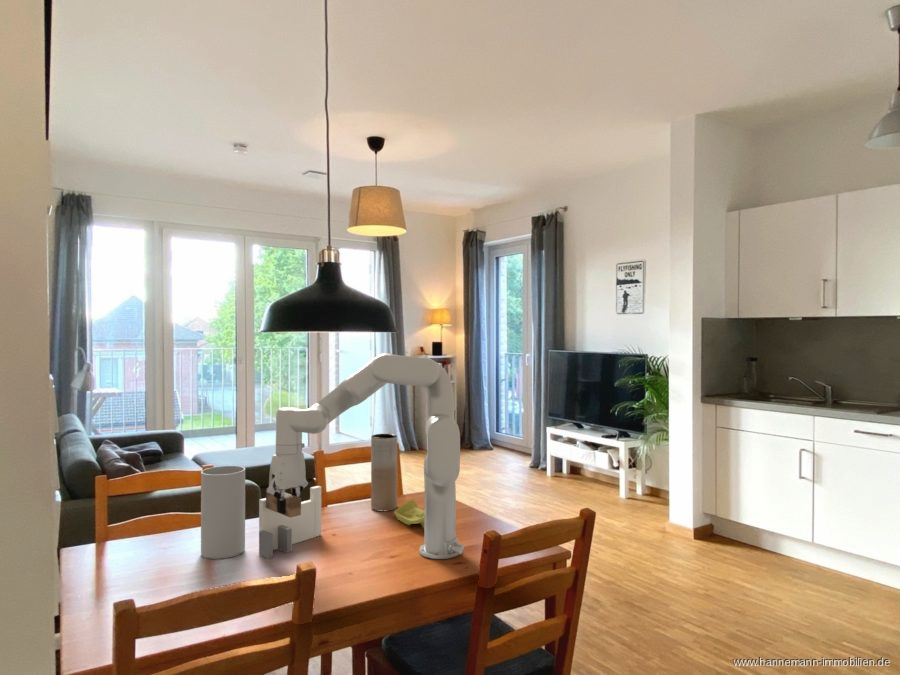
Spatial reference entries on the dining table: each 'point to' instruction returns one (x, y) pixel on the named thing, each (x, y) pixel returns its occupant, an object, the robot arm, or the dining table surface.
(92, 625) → the dining table surface
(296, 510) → the rectangular block
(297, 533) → the headboard
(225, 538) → the cylinder vase
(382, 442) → the planter
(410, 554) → the dining table surface
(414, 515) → the plastic component
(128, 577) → the dining table surface
